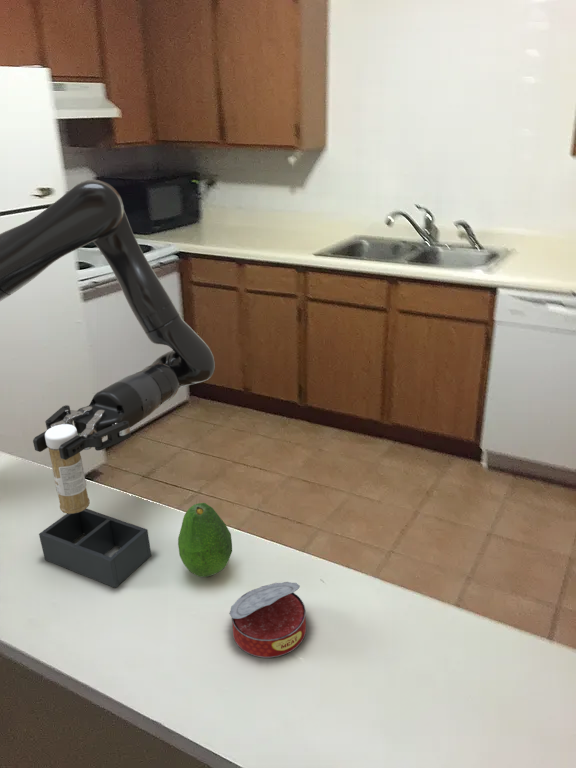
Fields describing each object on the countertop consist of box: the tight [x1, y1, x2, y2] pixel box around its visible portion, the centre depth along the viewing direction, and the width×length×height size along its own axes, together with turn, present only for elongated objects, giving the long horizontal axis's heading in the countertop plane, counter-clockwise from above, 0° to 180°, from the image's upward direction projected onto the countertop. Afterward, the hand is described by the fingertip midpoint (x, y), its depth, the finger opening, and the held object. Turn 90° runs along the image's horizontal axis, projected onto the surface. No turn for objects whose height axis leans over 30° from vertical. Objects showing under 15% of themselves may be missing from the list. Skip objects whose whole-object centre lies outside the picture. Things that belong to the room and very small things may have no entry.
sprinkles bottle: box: [44, 424, 91, 514], centre depth 101 cm, size 5×5×14 cm
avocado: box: [177, 502, 233, 578], centre depth 98 cm, size 8×8×12 cm
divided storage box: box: [38, 508, 152, 589], centre depth 104 cm, size 14×8×5 cm, turn 61°
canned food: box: [228, 581, 307, 659], centre depth 88 cm, size 11×10×10 cm
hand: (48, 449), depth 96 cm, fingers closed on sprinkles bottle, 4 cm apart
